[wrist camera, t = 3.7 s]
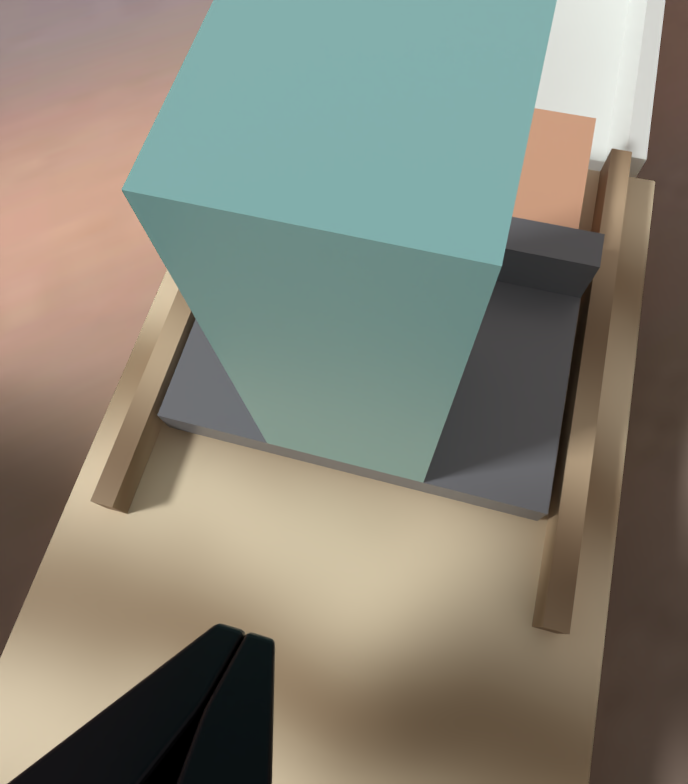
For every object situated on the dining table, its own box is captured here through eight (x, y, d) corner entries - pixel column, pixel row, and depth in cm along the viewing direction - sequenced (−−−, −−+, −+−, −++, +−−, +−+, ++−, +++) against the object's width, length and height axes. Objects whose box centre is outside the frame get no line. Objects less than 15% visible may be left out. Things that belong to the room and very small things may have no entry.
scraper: (537, 521, 15) (835, 332, 5) (169, 427, 17) (-125, 140, 7) (573, 285, 18) (828, -141, 8) (249, 220, 19) (118, -215, 9)
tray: (610, 220, 22) (661, 135, 18) (265, 155, 23) (244, 65, 20) (643, -16, 26) (689, -125, 22) (348, -56, 27) (344, -163, 24)
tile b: (556, 271, 18) (578, 230, 16) (425, 245, 19) (431, 203, 17) (574, 167, 19) (596, 118, 17) (451, 145, 20) (459, 95, 18)
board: (531, 953, 14) (578, 1051, 11) (4, 768, 16) (-89, 805, 13) (624, 229, 21) (670, 158, 18) (250, 159, 23) (230, 83, 20)
